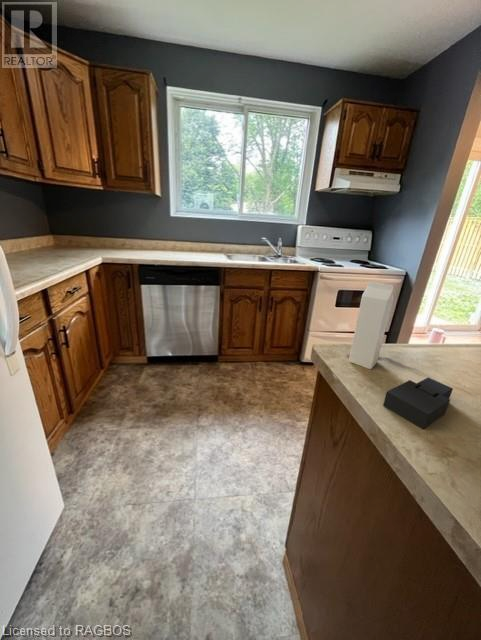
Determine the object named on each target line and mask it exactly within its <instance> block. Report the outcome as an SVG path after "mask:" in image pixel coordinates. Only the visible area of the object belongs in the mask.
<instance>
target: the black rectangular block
mask: <svg viewBox="0 0 481 640" xmlns="http://www.w3.org/2000/svg"><path fill="white" fill-rule="evenodd" d="M416 383H417V384H419V386H418V388H417V389H419V390H421V391H423V392H425V393H427V394H429V395H431V396H433V397H436V396H438V395H442V396H444V397H446V398H448V399H451V395H452V393H453V390H454V388H453V387H451V386H449V385H446V384H444V383H442V382H440V381H438V380H435V379H433V378H431V377H428V376H427V377H426V378H424V379H422V380H420V381H419V382H416Z"/></svg>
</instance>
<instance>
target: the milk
mask: <svg viewBox="0 0 481 640" xmlns="http://www.w3.org/2000/svg"><path fill="white" fill-rule="evenodd" d="M393 291H394V285H393V284H387V283H382V282H381V283H380V282H375V281H367V286H366V288H365V290H364V291H363V293H362V295H361V299H360V304H359V309H358V314H357V319H356V323H355V327H354V332H353V338H352V342H351V347H350V353H349V357H348V362H349V363H351V364H355V365H357V366H360V367H363V368H365V369H369V370H372V368H374V366H376V364H377V363H378V361H379V357H380V352H381V349H382V346H383V341H384V337H385V332H386V329H387V325H388V321H389V317H390V313H391V309H392V305H393V302H394V301H393V300H394V292H393Z"/></svg>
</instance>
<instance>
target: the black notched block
mask: <svg viewBox="0 0 481 640" xmlns="http://www.w3.org/2000/svg"><path fill="white" fill-rule="evenodd" d="M417 383H418V382H414V381H413V380H411V379H410V380H406V381H405V382H403V383H400V384H399V385H397V386H394V387H393V388H391V389H389V390H387V391H386V393H385V397H384V400H383V404H382V406H383V407H385V408H386V409H388V410H390V411H392V412H393V413H395V414H397V415H398V416H400V417H401V418H403V419H405V420H406V421H408V422H410V423H411V424H413V425H415V426H417V427H418V428H420V429H422V430H425V429H426V428H428V427H429V426H430V425H432V424H433V423H435V422H436V421H437V420H439V419H441V418H442V417H443V416H444V415H446V413H447V410H448V408H449V406H450V403H451V398H449V399H448V398H446V397H444V396H442V395H438V396H436V397H433V396H431V395H429V394H427V393H425V392H423V391H421V390H419V389H417V388H418V386H419V384H417Z"/></svg>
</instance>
